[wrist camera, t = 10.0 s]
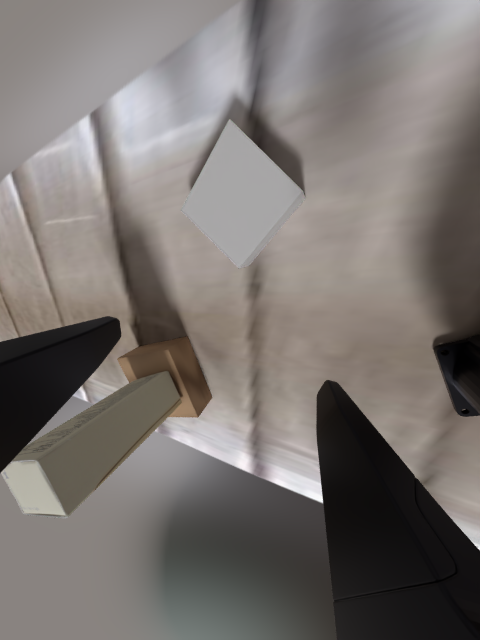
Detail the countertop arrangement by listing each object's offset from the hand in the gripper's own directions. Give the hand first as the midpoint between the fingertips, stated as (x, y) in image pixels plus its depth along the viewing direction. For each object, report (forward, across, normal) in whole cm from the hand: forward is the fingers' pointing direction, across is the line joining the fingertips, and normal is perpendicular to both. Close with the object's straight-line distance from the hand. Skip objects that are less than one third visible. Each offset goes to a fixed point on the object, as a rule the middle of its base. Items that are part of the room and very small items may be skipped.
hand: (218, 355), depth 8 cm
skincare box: (+8, +8, +16) cm, 20 cm away
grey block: (+14, +2, -5) cm, 15 cm away
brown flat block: (+13, +7, +17) cm, 22 cm away
